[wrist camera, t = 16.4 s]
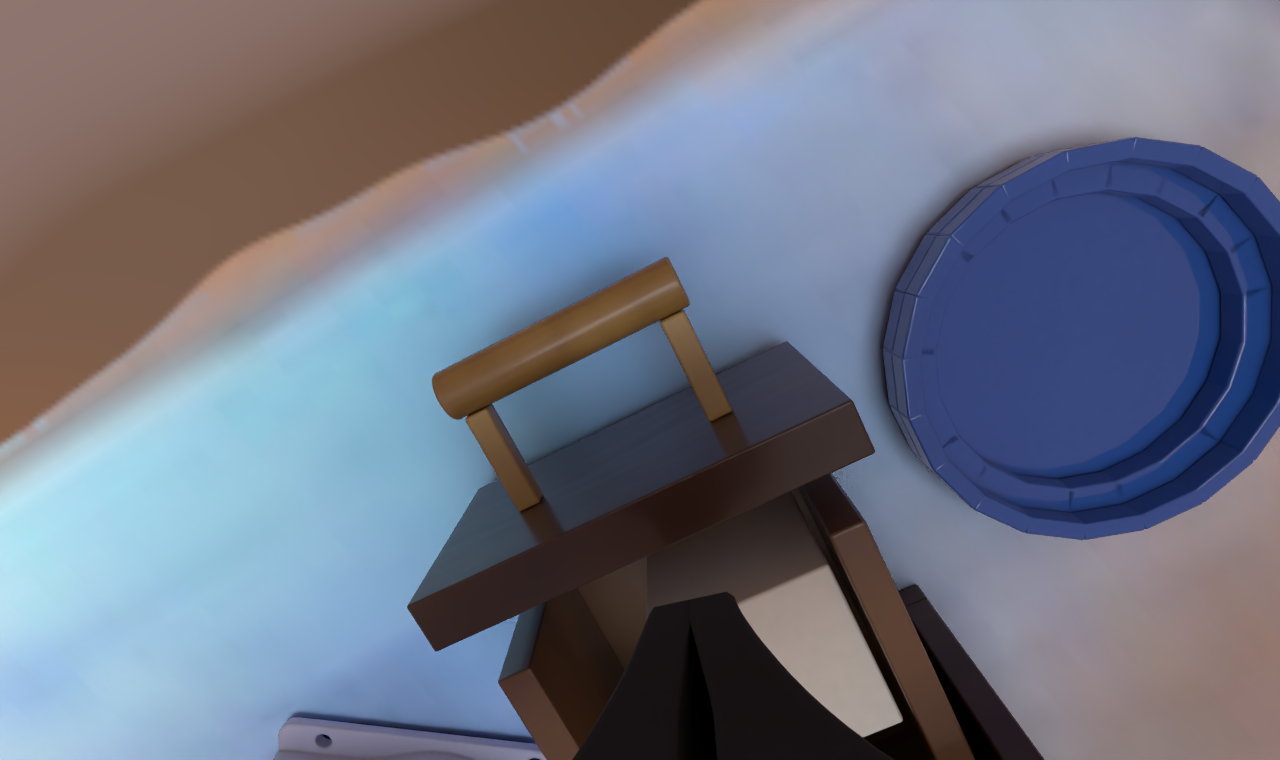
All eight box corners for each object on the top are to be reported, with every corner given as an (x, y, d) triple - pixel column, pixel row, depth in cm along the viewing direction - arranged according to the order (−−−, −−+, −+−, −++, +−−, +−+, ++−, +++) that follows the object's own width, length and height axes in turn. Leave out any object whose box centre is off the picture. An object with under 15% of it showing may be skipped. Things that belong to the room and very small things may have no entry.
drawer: (411, 376, 20) (304, 449, 13) (729, 214, 18) (770, 215, 12) (672, 816, 23) (681, 1034, 17) (953, 702, 22) (1072, 892, 16)
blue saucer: (847, 487, 21) (868, 514, 19) (923, 123, 19) (955, 112, 17) (1186, 528, 21) (1240, 559, 19) (1304, 173, 19) (1380, 168, 17)
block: (850, 613, 20) (905, 722, 16) (712, 672, 20) (728, 793, 16) (788, 485, 19) (829, 564, 15) (645, 550, 20) (644, 644, 15)
